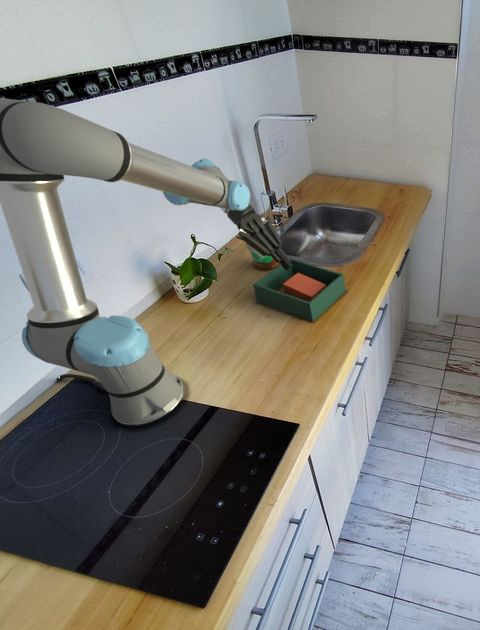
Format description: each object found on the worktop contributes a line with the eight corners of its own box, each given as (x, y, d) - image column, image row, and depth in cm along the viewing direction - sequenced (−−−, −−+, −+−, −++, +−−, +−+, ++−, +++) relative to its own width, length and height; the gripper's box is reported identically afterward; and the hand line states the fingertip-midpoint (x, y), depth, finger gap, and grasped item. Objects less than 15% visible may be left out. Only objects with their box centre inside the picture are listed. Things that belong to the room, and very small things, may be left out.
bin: (257, 302, 128) (252, 284, 123) (293, 274, 140) (290, 257, 136) (313, 322, 121) (309, 304, 116) (345, 291, 134) (343, 274, 129)
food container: (244, 268, 143) (237, 243, 136) (254, 259, 147) (248, 235, 141) (274, 274, 140) (268, 250, 134) (283, 265, 145) (278, 241, 138)
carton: (282, 283, 125) (311, 296, 123) (298, 272, 130) (325, 284, 128) (284, 295, 128) (312, 308, 126) (299, 284, 134) (326, 296, 131)
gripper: (247, 206, 127) (297, 263, 132) (215, 222, 118) (270, 282, 123) (256, 193, 122) (308, 253, 127) (223, 208, 112) (280, 273, 118)
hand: (289, 267), depth 125 cm, fingers closed
